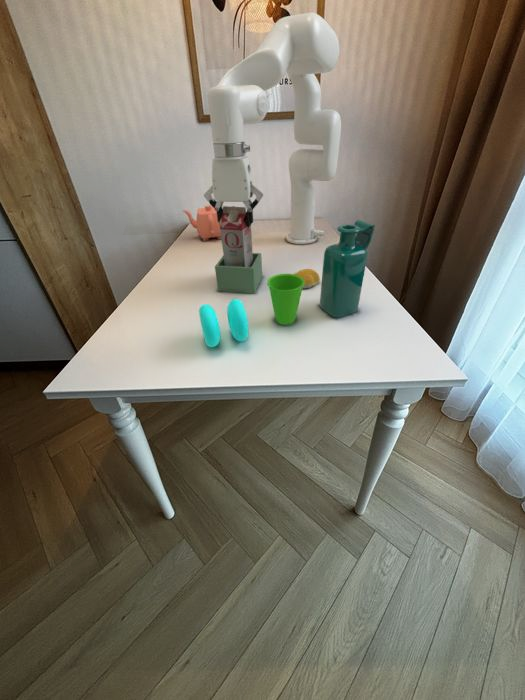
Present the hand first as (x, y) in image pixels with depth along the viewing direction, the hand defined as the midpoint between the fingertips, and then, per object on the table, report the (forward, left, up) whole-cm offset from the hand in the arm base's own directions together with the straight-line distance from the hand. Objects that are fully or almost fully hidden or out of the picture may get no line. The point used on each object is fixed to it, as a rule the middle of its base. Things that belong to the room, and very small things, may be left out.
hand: (235, 224), depth 88 cm
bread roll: (-20, -3, -18) cm, 27 cm away
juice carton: (0, 0, -17) cm, 17 cm away
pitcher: (-31, +11, -18) cm, 38 cm away
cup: (-17, +19, -18) cm, 31 cm away
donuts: (-4, +30, -18) cm, 35 cm away
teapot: (+24, -43, -18) cm, 53 cm away
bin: (0, 0, -18) cm, 18 cm away
